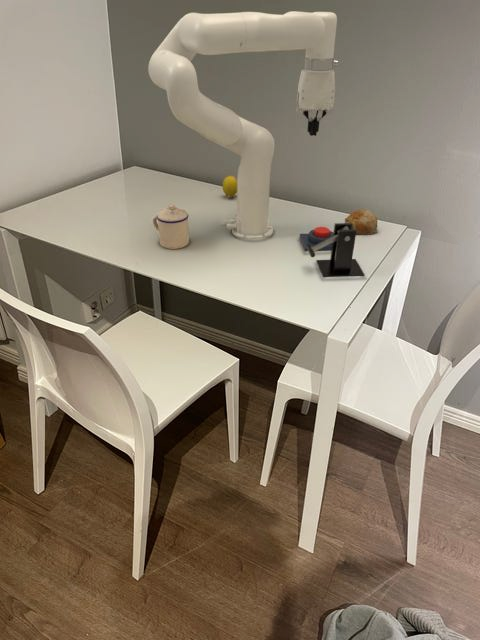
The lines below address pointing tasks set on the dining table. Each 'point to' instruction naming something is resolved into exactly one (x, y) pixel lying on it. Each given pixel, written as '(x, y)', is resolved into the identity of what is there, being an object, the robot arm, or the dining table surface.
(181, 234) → the teacup with lid
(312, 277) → the dining table surface
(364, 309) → the dining table surface
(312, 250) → the lever
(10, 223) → the dining table surface
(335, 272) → the lever bracket
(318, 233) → the button
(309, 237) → the button housing
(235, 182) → the lemon
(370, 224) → the bread roll
